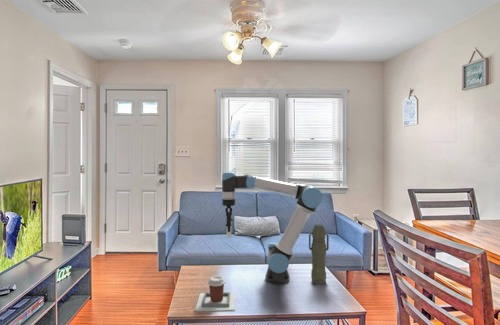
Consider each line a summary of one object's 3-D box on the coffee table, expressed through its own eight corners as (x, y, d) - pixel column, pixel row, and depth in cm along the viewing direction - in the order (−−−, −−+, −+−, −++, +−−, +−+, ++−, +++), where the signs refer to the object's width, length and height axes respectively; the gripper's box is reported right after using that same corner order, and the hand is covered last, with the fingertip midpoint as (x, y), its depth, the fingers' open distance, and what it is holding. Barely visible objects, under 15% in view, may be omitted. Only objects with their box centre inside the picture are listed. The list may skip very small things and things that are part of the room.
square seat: (235, 293, 178) (235, 290, 178) (235, 310, 158) (235, 306, 158) (200, 294, 178) (200, 290, 178) (195, 311, 158) (195, 307, 158)
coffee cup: (204, 303, 165) (204, 280, 165) (212, 296, 174) (212, 274, 174) (220, 305, 162) (220, 282, 162) (228, 298, 171) (227, 276, 170)
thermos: (330, 284, 190) (330, 226, 190) (310, 285, 190) (310, 227, 190) (326, 279, 199) (326, 223, 199) (307, 279, 199) (307, 224, 199)
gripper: (223, 196, 199) (223, 229, 199) (221, 201, 174) (222, 239, 174) (234, 196, 199) (235, 229, 200) (235, 201, 175) (235, 239, 175)
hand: (229, 234), depth 187 cm, fingers open, 13 cm apart
